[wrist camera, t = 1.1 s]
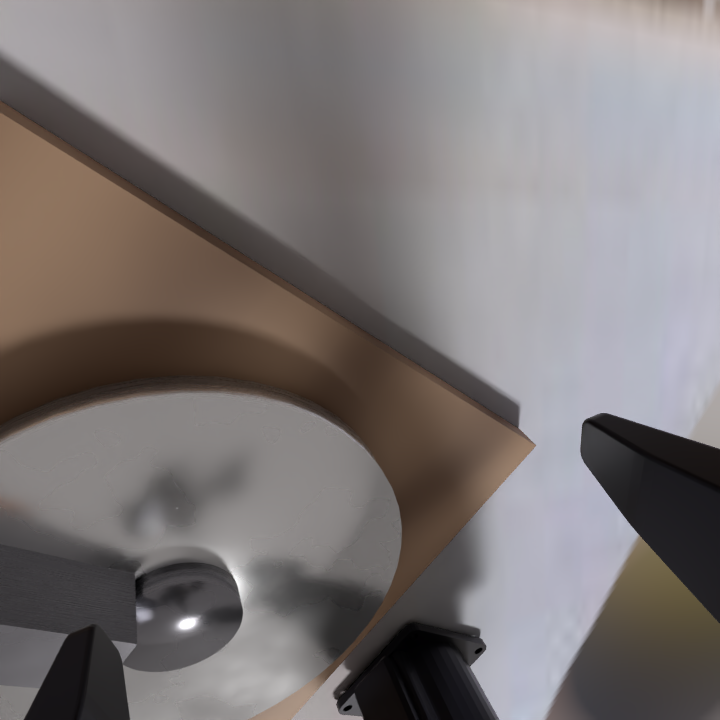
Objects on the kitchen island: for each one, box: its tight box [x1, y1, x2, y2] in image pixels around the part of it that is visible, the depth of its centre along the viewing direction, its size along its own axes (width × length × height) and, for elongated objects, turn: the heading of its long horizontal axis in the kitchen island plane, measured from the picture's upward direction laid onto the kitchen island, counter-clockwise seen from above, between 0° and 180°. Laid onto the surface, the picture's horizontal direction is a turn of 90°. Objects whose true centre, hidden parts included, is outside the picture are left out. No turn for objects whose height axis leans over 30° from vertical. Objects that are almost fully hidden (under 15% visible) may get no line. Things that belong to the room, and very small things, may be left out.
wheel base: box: [0, 101, 536, 720], centre depth 20 cm, size 21×21×1 cm
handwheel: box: [0, 375, 402, 720], centre depth 16 cm, size 19×16×4 cm
